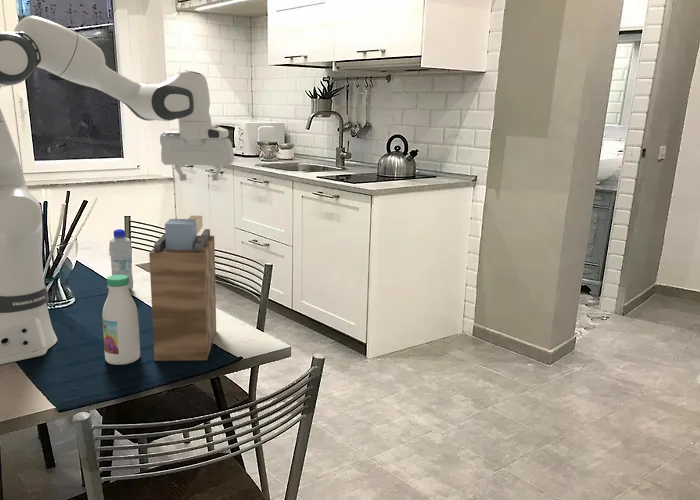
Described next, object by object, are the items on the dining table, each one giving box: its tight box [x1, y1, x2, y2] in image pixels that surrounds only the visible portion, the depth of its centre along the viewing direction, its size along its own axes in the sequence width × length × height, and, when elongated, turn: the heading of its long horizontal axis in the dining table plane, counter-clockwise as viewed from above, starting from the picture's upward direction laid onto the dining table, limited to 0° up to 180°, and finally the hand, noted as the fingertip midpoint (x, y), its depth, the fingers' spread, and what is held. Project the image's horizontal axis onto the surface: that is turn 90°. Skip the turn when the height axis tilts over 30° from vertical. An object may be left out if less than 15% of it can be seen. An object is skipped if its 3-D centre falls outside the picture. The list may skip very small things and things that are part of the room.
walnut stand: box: [148, 228, 217, 362], centre depth 141 cm, size 18×12×28 cm, turn 6°
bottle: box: [108, 228, 134, 292], centre depth 180 cm, size 7×7×20 cm
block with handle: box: [164, 215, 204, 250], centre depth 145 cm, size 26×6×6 cm, turn 6°
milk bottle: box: [101, 275, 141, 366], centre depth 133 cm, size 8×8×20 cm
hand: (199, 180), depth 166 cm, fingers open, 8 cm apart
